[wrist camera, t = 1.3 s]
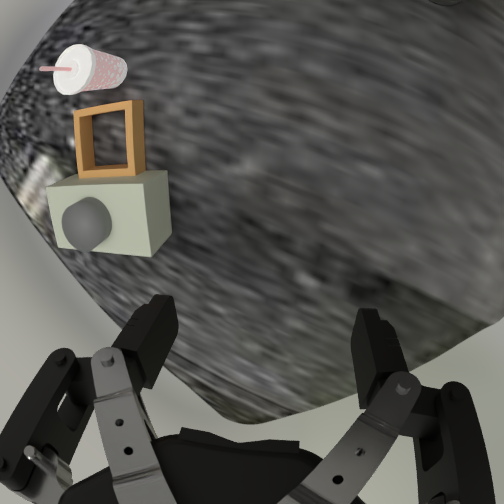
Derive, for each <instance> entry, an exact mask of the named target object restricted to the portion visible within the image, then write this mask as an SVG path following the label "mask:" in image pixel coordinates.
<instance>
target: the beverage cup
mask: <svg viewBox="0 0 504 504" xmlns="http://www.w3.org/2000/svg"><path fill="white" fill-rule="evenodd" d="M39 70H40V71H54V74H53V77H54V84H55V86H56V88H57V90H58V91H59V92H60V93H62V94H63V95H72V94H76V93H78V92H81V91H89V90H98V89H109V88H114V87H117V86H119V85H120V84H121V83H122V82H123V80H124V79H125V77H126V74H127V64H126V63H125V61H124V60H123V59H121V58H120V57H117V56H114V55H110V54H107V53H104V52H100V51H97V50H93V49H91V48H89V47H88V46H86V45H83V44H78V45H72V46H71V47H69V48H67V49H66V50H65V51H64V52H63V53H62V54H61V55H60V57H59V59H58V61H57V63H56V65H55V67H45V66H41V67H40V69H39Z"/></svg>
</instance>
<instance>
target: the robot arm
mask: <svg viewBox="0 0 504 504" xmlns="http://www.w3.org/2000/svg"><path fill="white" fill-rule="evenodd" d="M430 1H432V2H434V3H436V4H440V5H445V6H450V5H454V4H456V3H458V2H460V1H462V0H430ZM177 333H178V319H177V314H176V309H175V303H174V299H173V297H172V296H169V295H159V294H155V295H154V296H153V298H152V299H151V301H150V302H149V304H144V305H142V306H141V307H139V308H138V309H137V310H135V312H134V313H133V315H132V316H131V319H129V321H128V322H127V324H126V326H125V327H124V328H123V330H122V331H121V332H120V334H119V335H118V337H117V339H116V340H115V341H114V343H113V345H112V346H111V347H106V348H102V349H100V350H98V351H97V352H96V353H95V354H94V355H93V357H84V358H76V356H75V354H74V352H73V351H72V350H70V349H68V348H60V349H58V350H55V351H54V352H52V353H51V354H50V355H49V357H48V358H47V360H46V361H45V363H44V364H43V366H42V367H41V369H40V370H39V372H38V373H37V375H36V376H35V378H34V379H33V381H32V382H31V384H30V385H29V387H28V388H27V390H26V392H25V393H24V395H23V397H22V398H21V400H20V401H19V403H18V405H17V406H16V408H15V410H14V411H13V413H12V415H11V416H10V418H9V420H8V422H7V423H6V425H5V427H4V429H3V431H2V433H1V434H0V482H1V483H2V484H3V485H5V486H6V487H7V488H8V489H10V490H11V491H13V492H14V493H16V494H18V495H19V496H21V497H22V498H24V499H25V500H27V501H30V502H32V503H34V504H365V503H364V502H363V501H362V500H361V499H360V498H359V497H358V493H359V492H360V491H361V490H362V488H363V487H364V486H365V484H366V483H367V481H368V480H369V479H370V478H371V476H372V475H373V473H374V472H375V471H376V469H377V468H378V466H379V465H380V463H381V462H382V460H383V459H384V457H385V456H386V454H387V453H388V451H389V450H390V448H391V447H392V445H393V443H394V442H395V440H396V439H397V437H398V435H403V436H409V437H413V442H414V451H415V460H416V470H417V482H418V499H419V504H496V502H495V495H494V489H493V482H492V476H491V471H490V465H489V460H488V456H487V451H486V447H485V442H484V439H483V435H482V431H481V427H480V423H479V420H478V417H477V413H476V410H475V407H474V404H473V400H472V397H471V394H470V392H469V390H468V389H467V387H466V386H464V385H463V384H462V383H459V382H455V381H451V382H448V383H446V384H444V386H443V387H442V388H441V389H435V388H430V387H426V386H422V385H421V384H420V381H419V380H418V378H417V377H415V376H414V375H413V374H411V373H409V371H408V368H407V365H406V362H405V359H404V355H403V352H402V349H401V346H400V343H399V341H398V339H397V335H396V332H395V329H394V328H393V326H392V325H391V324H390V323H389V322H388V321H387V320H380V317H379V314H378V311H377V309H372V308H359V310H358V312H357V316H356V320H355V324H354V328H353V332H352V336H351V352H352V358H353V365H354V371H355V378H356V385H357V392H358V399H359V407H360V409H366V411H365V412H364V413H362V414H361V415H360V416H359V417H358V418H357V420H356V421H355V422H354V423H353V425H352V426H351V427H350V429H349V430H348V431H347V432H346V434H345V435H344V436H343V437H342V438H341V440H340V441H339V442H338V443H337V444H336V446H335V447H334V448H333V449H332V450H331V451H330V452H329V454H328V455H327V456H326V457H325V458H324V459H322V458H320V457H319V456H317V455H316V454H314V453H312V452H310V451H307V450H304V449H300V448H299V441H286V440H270V439H269V440H261V441H254V442H244V443H237V442H233V441H231V440H228V439H225V438H223V437H220V436H217V435H215V434H212V433H210V432H205V431H200V430H194V429H189V428H184V427H182V428H181V431H180V433H179V434H175V435H168V436H163V437H160V438H158V437H157V435H156V433H155V431H154V428H153V426H152V424H151V421H150V418H149V416H148V413H147V411H146V408H145V405H144V403H143V400H142V397H141V395H140V392H141V390H142V388H143V387H144V388H148V389H152V388H153V386H154V384H155V381H156V379H157V377H158V375H159V372H160V370H161V368H162V366H163V364H164V362H165V360H166V358H167V355H168V353H169V351H170V349H171V347H172V345H173V343H174V340H175V338H176V336H177ZM65 393H66V397H65V399H64V401H63V402H62V404H61V406H60V408H59V410H58V412H57V408H58V405H59V403H60V401H61V399H62V398H63V396H64V394H65ZM94 408H95V412H96V417H97V422H98V426H99V430H100V434H101V438H102V442H103V446H104V450H105V453H106V457H107V460H108V463H109V466H108V467H106V468H104V469H103V470H101V471H99V472H97V473H95V474H93V475H92V476H90V477H88V478H86V479H84V480H82V481H80V482H78V483H76V484H74V485H72V484H73V480H72V472H71V469H70V467H69V464H70V462H71V460H72V457H73V455H74V453H75V450H76V448H77V446H78V443H79V441H80V439H81V437H82V434H83V432H84V430H85V428H86V425H87V423H88V421H89V419H90V417H91V414H92V412H93V410H94Z"/></svg>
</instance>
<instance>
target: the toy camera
mask: <svg viewBox="0 0 504 504" xmlns="http://www.w3.org/2000/svg"><path fill="white" fill-rule="evenodd" d="M121 110H125V123H126V145H127V160H128V164H120V165H104V166H95V157H94V145H93V128H92V115H96V114H102V113H108V112H114V111H121ZM74 130H75V144H76V156H77V166H78V174H75V175H73V176H70V177H68V178H66V179H63V180H61V181H59V182H57V183H54V184H52V185H50V186H48V187H46V191H47V197H48V203H49V208H50V213H51V218H52V223H53V227H54V232H55V236H56V240H57V244H58V247H59V248H69V249H77V250H79V251H82V252H89V251H97V252H107V253H116V254H126V255H137V256H147V257H152V256H153V255H154V254H155V252H156V251H157V250H158V249H159V248H160V247H161V246H162V244H163V243H164V242H165V241H166V240H167V239H168V238H169V237H170V235H171V234H172V227H171V215H170V203H169V188H168V170H149V171H146V164H145V146H144V117H143V100H130V101H124V102H118V103H112V104H106V105H101V106H96V107H91V108H86V109H81V110H77V111H74Z"/></svg>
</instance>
